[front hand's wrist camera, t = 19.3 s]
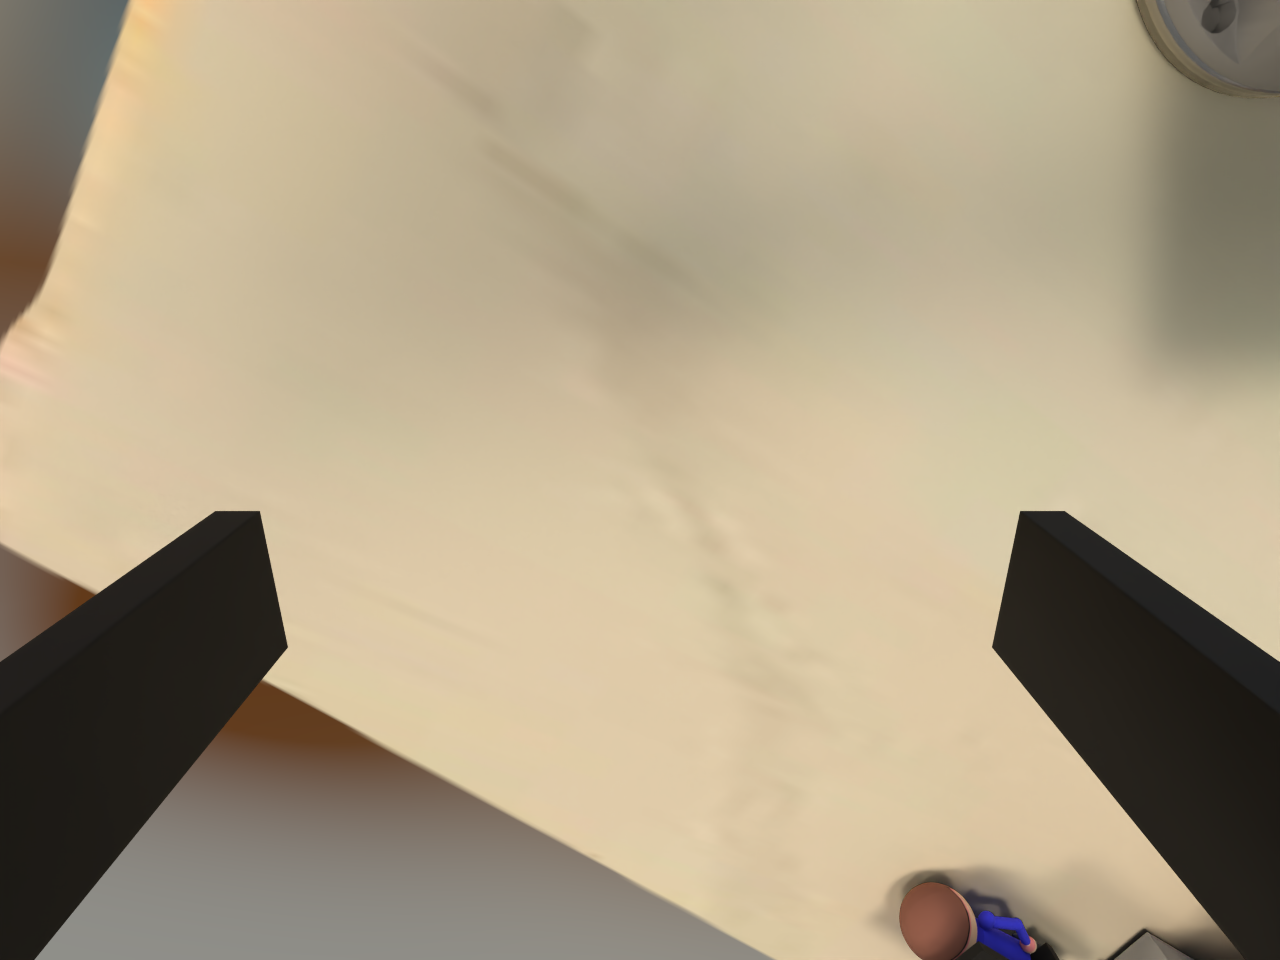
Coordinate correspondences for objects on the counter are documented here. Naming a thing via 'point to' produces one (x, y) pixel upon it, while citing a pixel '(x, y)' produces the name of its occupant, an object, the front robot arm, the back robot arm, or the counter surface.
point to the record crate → (1151, 950)
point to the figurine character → (962, 929)
